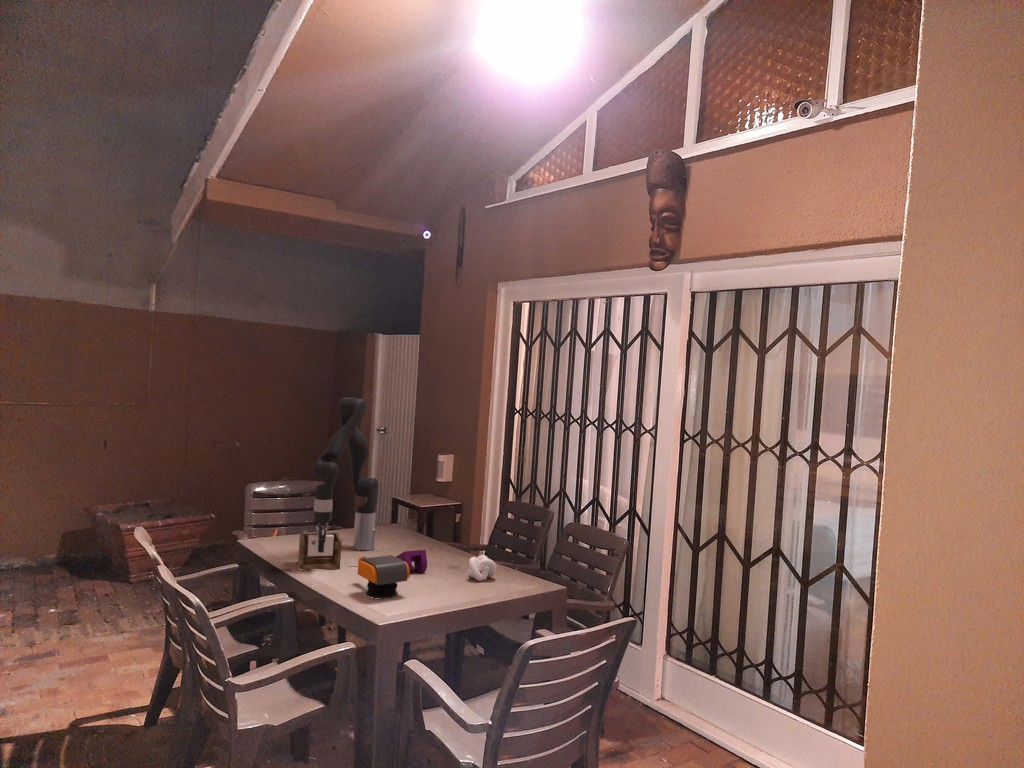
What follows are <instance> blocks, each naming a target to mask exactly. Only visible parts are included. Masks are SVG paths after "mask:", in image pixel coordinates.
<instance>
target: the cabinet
mask: <svg viewBox="0 0 1024 768" xmlns="http://www.w3.org/2000/svg"><path fill="white" fill-rule="evenodd" d="M308 535H317V532H300V533H299V541H298V542H299V544H298V555H297V557H298V560H297V563H298V562H299V563H298V568H300V569H326V570H340V569H341V557H342V556H341V555H342V542H343V541H342V537H341V535H340V533H339V532H326V535H334V542H333V556H307V550H308Z"/></svg>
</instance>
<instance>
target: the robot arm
mask: <svg viewBox="0 0 1024 768" xmlns="http://www.w3.org/2000/svg"><path fill="white" fill-rule="evenodd" d="M366 412H367V402H366V401H365V399H362V398H358V397H348V396H347V397H345V396H344V397H342V398H340V400H339V402H338V414H339V418H340V421H341V424H342V427H341V428H340V429H338V431H336V432H335V433H334V434H332V436H331V438H330V440H329V441H328V443H327V446H326V447H325V450H324V451H323V453H321V455H320V456H319V457H318V458H317V459H316V461H315V463H313V466H312V474H313V477H315V478H318V479H325V481H324V483H320V484H317V485H316V487H315V494H314V501H313V502H314V503H313V512H312V513H313V515H312V516H313V517H312V520H313V522H315V523H318V524H317V525H316V533H317V537H318V538H319V539H318V552H319V553H321V552H324V543H325V537H326V533H327V531H328V526H327V524H326V523H330V522H332V520H333V505H334V504H333V502H334V501H333V497H334V494H333V493H334V488H335V485H336V480H337V478H338V476H339V470H340V469H339V466H338V464H337V463H336V462H337V461H339V460H340V459H341V457H342V455H343V453H344V451H345V448H347V453H348V458H349V462H350V468H351V479H352V480H351V481H352V489H353V493H354V495H355V496H356V497H359V498H361V497H362V498H367V499H366V502H363V503H359V504H357V505H356V506H355V513H354V514H355V515H354V517H355V518H354V531H353V548H354V549H353V550H355V549H356V551H360V550H367V551H372V550H373V549H374V550H375V541H376V514H377V513H376V512H377V511H376V509H377V504H378V497H379V496H378V495H379V489H380V488H379V487H380V485H379V481H378V479H377V478H375V477H369V476H367V477H366V476H363V467H364V466H365V464H366V462H367V461H368V458H369V455H370V451H369V444H368V440H367V437H365V435H364V433H363V432H362V431H361V430H360V428H359V427H358V426H359V425H360V424H361V422H362V420H363V419H364V417H365V415H366ZM335 461H336V462H335ZM321 538H323V540H320V539H321ZM374 550H373V551H374Z"/></svg>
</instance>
